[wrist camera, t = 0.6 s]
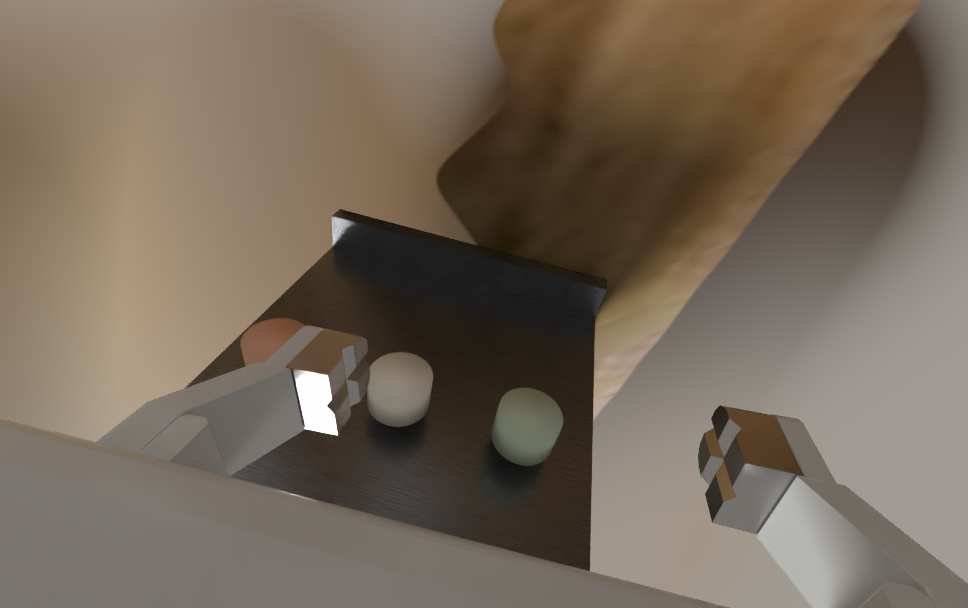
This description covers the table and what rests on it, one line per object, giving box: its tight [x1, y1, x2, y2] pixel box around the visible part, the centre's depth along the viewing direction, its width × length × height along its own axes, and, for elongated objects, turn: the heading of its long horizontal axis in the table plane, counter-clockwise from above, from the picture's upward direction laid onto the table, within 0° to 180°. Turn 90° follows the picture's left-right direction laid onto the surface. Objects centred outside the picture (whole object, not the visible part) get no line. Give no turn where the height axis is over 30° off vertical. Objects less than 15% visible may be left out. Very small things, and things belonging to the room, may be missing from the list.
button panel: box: [186, 209, 607, 571], centre depth 41 cm, size 12×32×33 cm, turn 80°
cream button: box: [367, 352, 433, 427], centre depth 33 cm, size 3×5×5 cm, turn 80°
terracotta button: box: [240, 318, 305, 367], centre depth 34 cm, size 3×5×5 cm, turn 80°
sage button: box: [491, 388, 563, 466], centre depth 33 cm, size 3×5×5 cm, turn 80°
